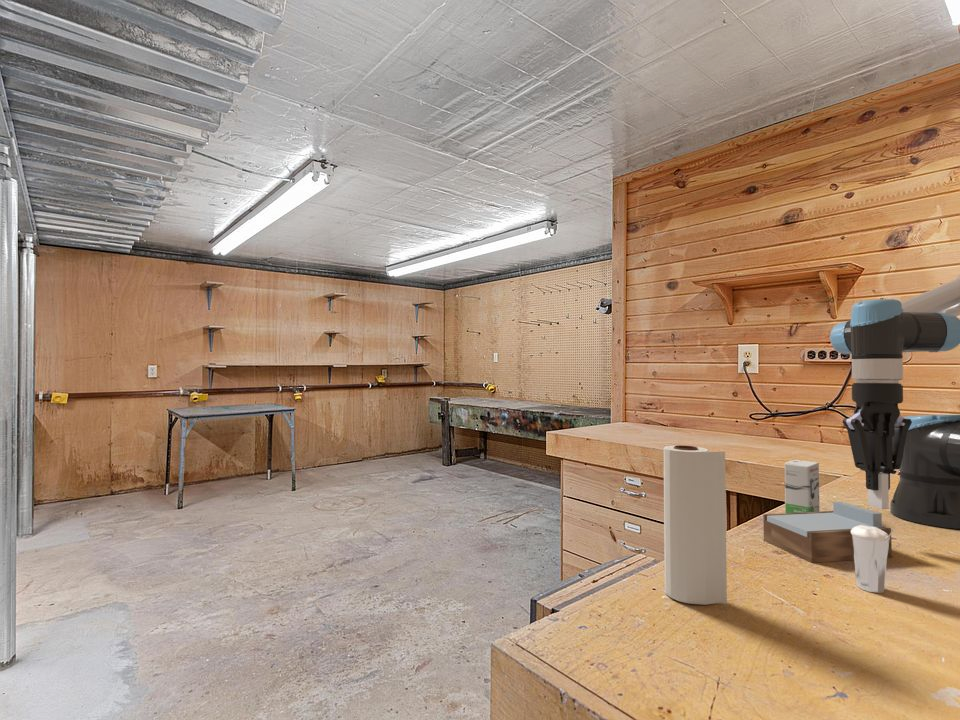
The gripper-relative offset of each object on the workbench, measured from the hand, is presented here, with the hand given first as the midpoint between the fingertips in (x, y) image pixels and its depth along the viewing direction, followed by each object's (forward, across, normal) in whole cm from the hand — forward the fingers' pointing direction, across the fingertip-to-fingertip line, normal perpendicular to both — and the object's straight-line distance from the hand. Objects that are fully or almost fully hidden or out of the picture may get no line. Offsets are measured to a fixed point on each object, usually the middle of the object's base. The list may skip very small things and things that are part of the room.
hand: (878, 507), depth 91 cm
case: (+7, +12, 0) cm, 14 cm away
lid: (+3, +12, 0) cm, 12 cm away
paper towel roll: (+8, +48, +14) cm, 50 cm away
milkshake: (+7, +19, +16) cm, 26 cm away
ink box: (+7, -2, -20) cm, 21 cm away
